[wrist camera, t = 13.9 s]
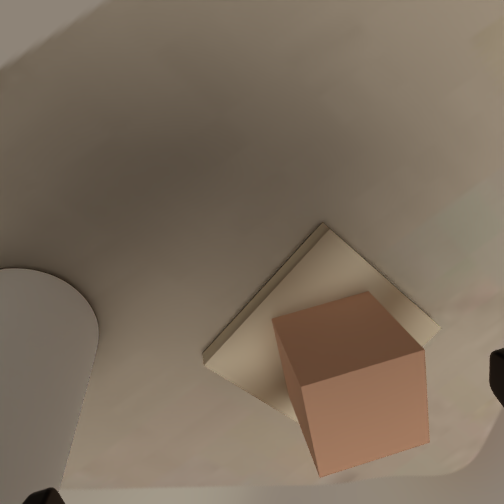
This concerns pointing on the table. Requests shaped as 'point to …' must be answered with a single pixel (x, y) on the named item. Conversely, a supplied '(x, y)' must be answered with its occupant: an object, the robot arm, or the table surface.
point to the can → (40, 378)
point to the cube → (353, 381)
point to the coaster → (296, 299)
